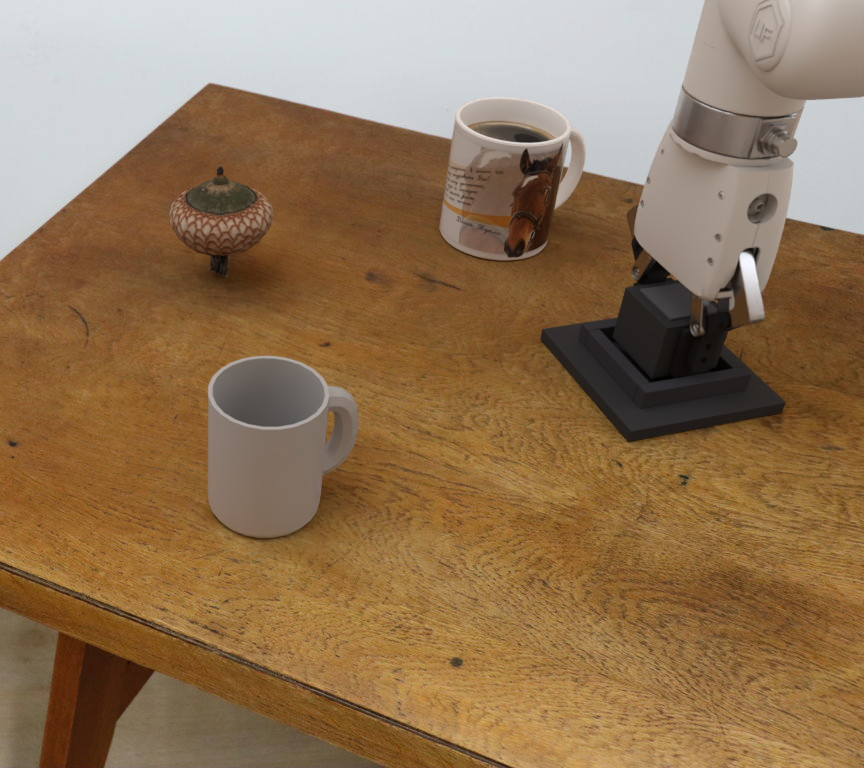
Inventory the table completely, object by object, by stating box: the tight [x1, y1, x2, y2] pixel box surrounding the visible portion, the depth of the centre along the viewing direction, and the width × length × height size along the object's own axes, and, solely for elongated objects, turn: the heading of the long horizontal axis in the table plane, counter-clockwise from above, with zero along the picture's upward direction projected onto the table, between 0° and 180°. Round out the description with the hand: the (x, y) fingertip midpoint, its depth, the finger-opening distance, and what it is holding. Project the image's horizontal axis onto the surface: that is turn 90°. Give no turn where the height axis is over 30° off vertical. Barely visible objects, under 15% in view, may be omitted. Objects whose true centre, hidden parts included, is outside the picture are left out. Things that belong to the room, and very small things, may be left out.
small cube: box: [612, 279, 729, 379], centre depth 81 cm, size 6×6×5 cm
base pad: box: [539, 316, 787, 443], centre depth 83 cm, size 13×13×2 cm
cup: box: [207, 355, 360, 539], centre depth 69 cm, size 7×10×9 cm
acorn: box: [168, 165, 274, 278], centre depth 90 cm, size 8×8×10 cm
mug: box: [438, 96, 587, 261], centre depth 97 cm, size 10×12×11 cm
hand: (665, 346), depth 83 cm, fingers closed on small cube, 5 cm apart
